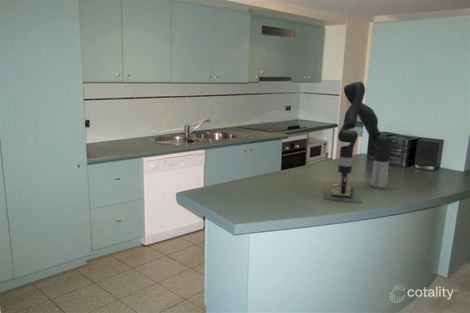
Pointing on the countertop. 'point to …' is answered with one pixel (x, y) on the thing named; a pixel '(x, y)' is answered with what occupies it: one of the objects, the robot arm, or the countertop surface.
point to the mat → (342, 197)
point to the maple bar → (337, 190)
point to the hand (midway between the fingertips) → (342, 192)
